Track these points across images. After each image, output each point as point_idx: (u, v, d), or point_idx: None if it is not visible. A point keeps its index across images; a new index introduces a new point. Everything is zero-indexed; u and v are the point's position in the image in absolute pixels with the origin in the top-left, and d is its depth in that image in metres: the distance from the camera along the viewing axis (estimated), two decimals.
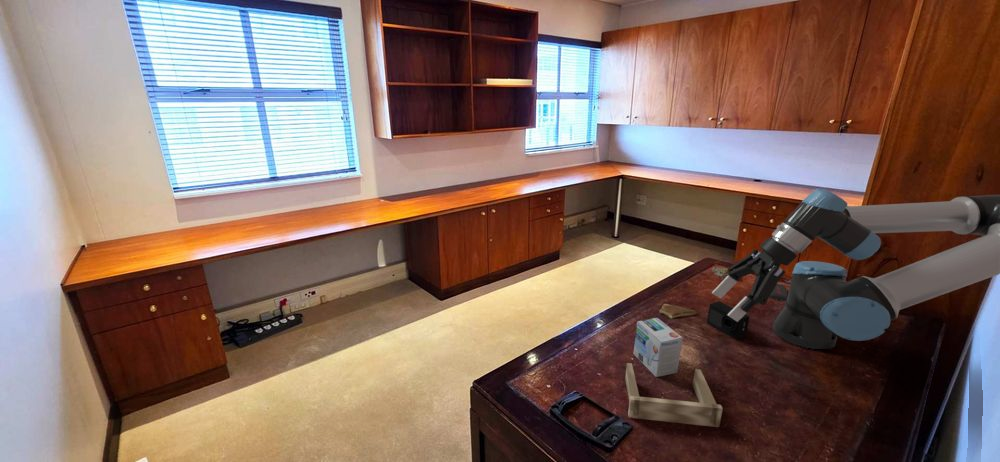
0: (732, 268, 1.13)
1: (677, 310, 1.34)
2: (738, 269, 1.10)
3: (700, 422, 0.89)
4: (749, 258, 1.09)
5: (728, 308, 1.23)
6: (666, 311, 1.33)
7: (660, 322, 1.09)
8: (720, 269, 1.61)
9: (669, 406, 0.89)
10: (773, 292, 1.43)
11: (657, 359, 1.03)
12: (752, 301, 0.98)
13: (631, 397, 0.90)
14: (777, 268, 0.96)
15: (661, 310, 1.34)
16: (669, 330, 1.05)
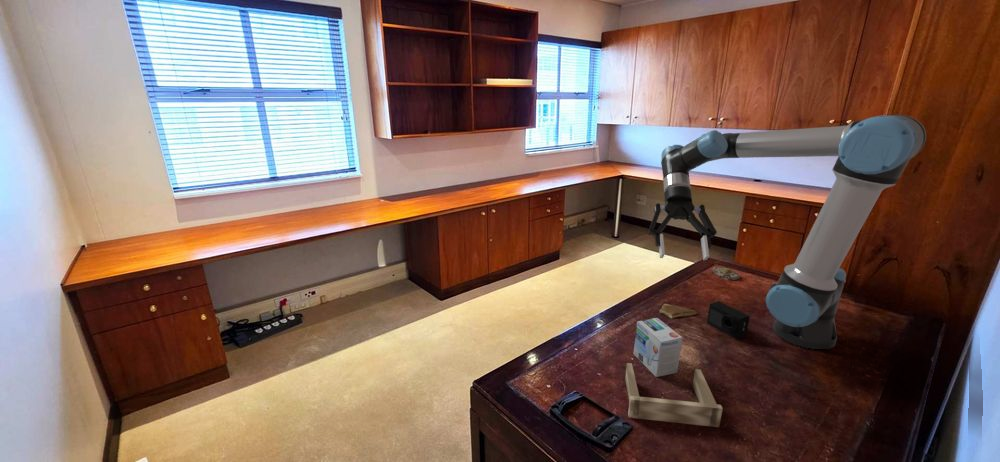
0: None
1: (677, 310, 1.34)
2: None
3: (700, 422, 0.89)
4: (699, 216, 1.20)
5: (728, 308, 1.23)
6: (666, 311, 1.33)
7: (660, 322, 1.09)
8: (721, 269, 1.61)
9: (669, 406, 0.89)
10: None
11: (657, 359, 1.03)
12: (654, 236, 1.18)
13: (631, 397, 0.90)
14: None
15: (661, 310, 1.34)
16: (669, 330, 1.05)
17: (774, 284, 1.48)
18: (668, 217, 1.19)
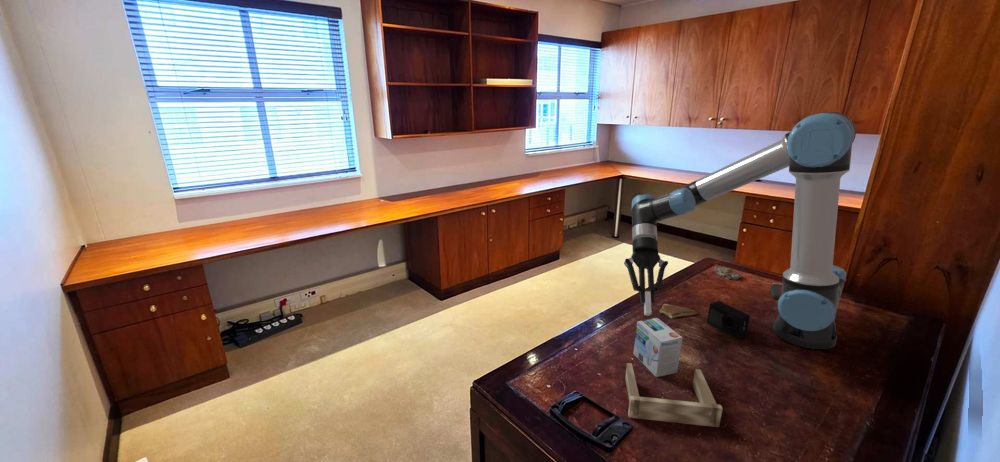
0: (655, 286, 1.22)
1: (677, 310, 1.34)
2: None
3: (700, 422, 0.89)
4: (659, 269, 1.24)
5: (728, 307, 1.23)
6: (666, 311, 1.33)
7: (660, 322, 1.09)
8: (722, 268, 1.62)
9: (669, 406, 0.89)
10: (775, 293, 1.42)
11: (657, 359, 1.03)
12: (639, 292, 1.21)
13: (631, 397, 0.90)
14: (624, 263, 1.26)
15: (661, 310, 1.34)
16: (669, 330, 1.05)
17: (774, 284, 1.48)
18: (642, 270, 1.22)
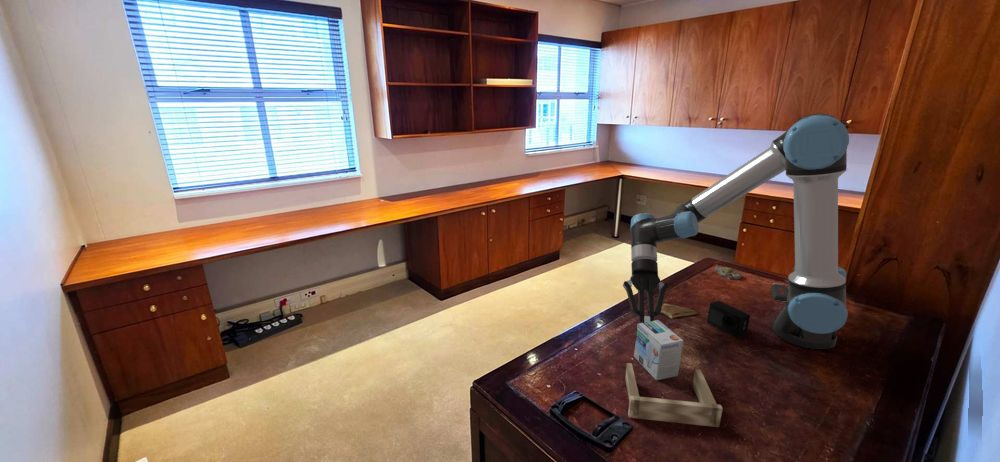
0: (655, 310, 1.18)
1: (677, 310, 1.34)
2: None
3: (700, 422, 0.89)
4: (659, 292, 1.20)
5: (728, 307, 1.24)
6: (666, 311, 1.33)
7: (661, 324, 1.08)
8: (723, 268, 1.62)
9: (669, 406, 0.89)
10: (777, 293, 1.42)
11: (657, 362, 1.02)
12: None
13: (631, 397, 0.90)
14: (623, 285, 1.22)
15: (661, 310, 1.34)
16: (670, 332, 1.04)
17: (775, 285, 1.48)
18: (641, 293, 1.18)
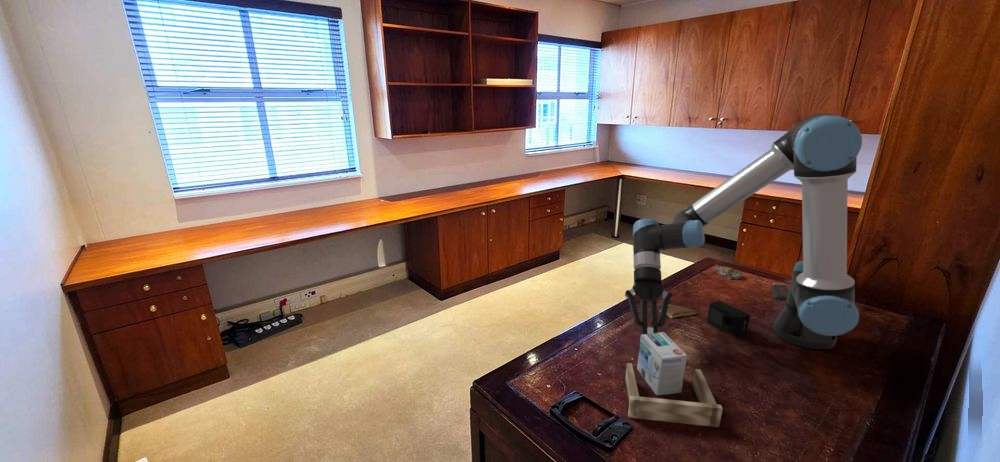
0: None
1: (677, 310, 1.34)
2: None
3: (700, 422, 0.89)
4: (663, 302, 1.14)
5: (728, 307, 1.24)
6: None
7: (666, 337, 1.02)
8: (723, 268, 1.62)
9: (669, 406, 0.89)
10: (778, 294, 1.42)
11: (658, 376, 0.96)
12: None
13: (631, 397, 0.90)
14: (625, 294, 1.17)
15: None
16: (674, 346, 0.98)
17: (775, 285, 1.48)
18: (644, 303, 1.13)
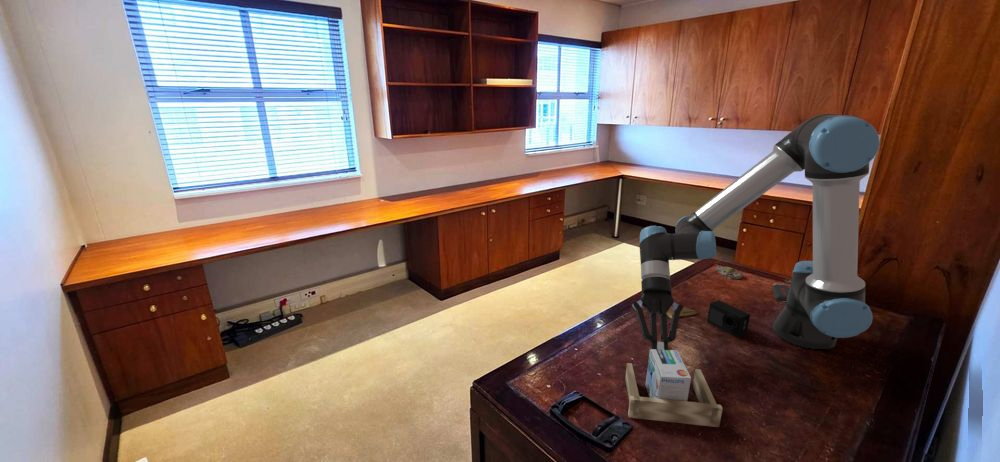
0: (669, 334, 1.05)
1: None
2: None
3: (700, 422, 0.89)
4: (673, 314, 1.07)
5: (728, 307, 1.24)
6: None
7: (676, 356, 0.95)
8: (724, 268, 1.62)
9: (669, 406, 0.89)
10: (779, 294, 1.41)
11: (657, 395, 0.90)
12: None
13: (631, 397, 0.90)
14: (632, 306, 1.10)
15: None
16: (681, 366, 0.91)
17: (776, 285, 1.48)
18: (653, 316, 1.06)
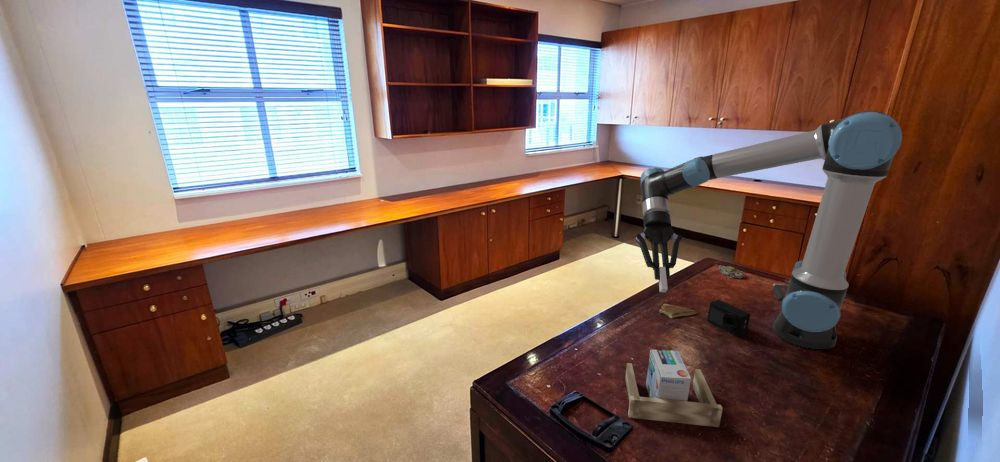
0: (670, 262, 1.15)
1: (677, 310, 1.34)
2: None
3: (700, 422, 0.89)
4: (673, 244, 1.17)
5: (728, 306, 1.24)
6: (666, 311, 1.33)
7: (677, 356, 0.95)
8: (726, 267, 1.63)
9: (669, 406, 0.89)
10: (781, 294, 1.41)
11: (657, 395, 0.90)
12: (653, 268, 1.14)
13: (631, 397, 0.90)
14: None
15: (661, 310, 1.34)
16: (681, 367, 0.91)
17: (776, 285, 1.47)
18: (655, 245, 1.15)
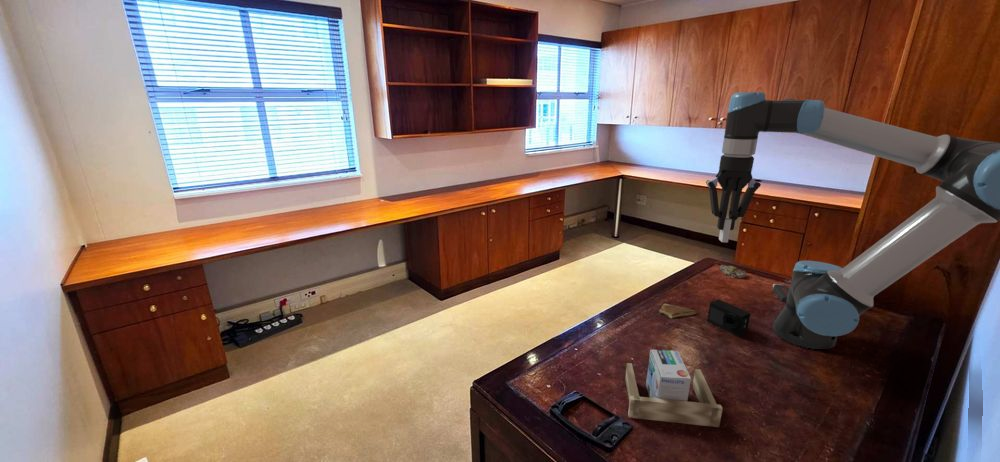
0: (737, 208, 1.10)
1: (677, 310, 1.34)
2: None
3: (700, 422, 0.89)
4: (747, 189, 1.07)
5: (728, 306, 1.25)
6: (666, 311, 1.33)
7: (677, 356, 0.95)
8: (727, 267, 1.63)
9: (669, 406, 0.89)
10: (783, 295, 1.40)
11: (657, 395, 0.90)
12: (718, 217, 1.10)
13: (631, 397, 0.90)
14: (706, 183, 1.09)
15: (661, 310, 1.34)
16: (681, 367, 0.91)
17: (777, 285, 1.47)
18: (727, 195, 1.07)
